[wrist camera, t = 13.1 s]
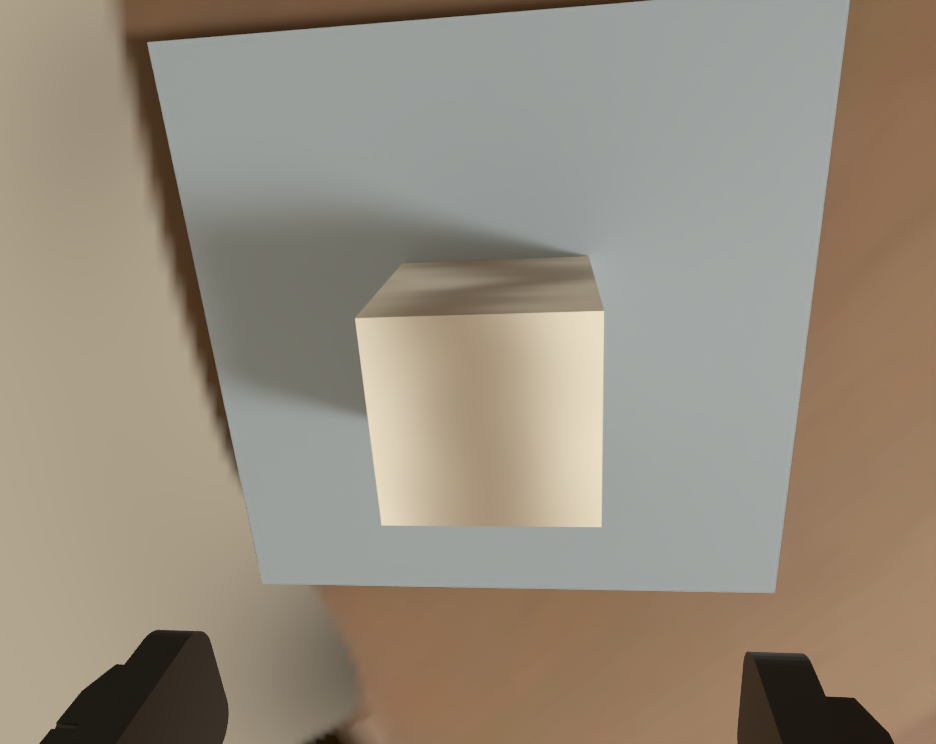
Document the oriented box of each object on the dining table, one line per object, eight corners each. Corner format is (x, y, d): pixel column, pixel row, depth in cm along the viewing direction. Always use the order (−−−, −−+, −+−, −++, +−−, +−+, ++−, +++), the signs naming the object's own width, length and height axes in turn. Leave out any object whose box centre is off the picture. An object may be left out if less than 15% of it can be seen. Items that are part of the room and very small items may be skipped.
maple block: (588, 256, 21) (604, 310, 16) (588, 426, 24) (601, 527, 18) (402, 263, 22) (354, 318, 17) (418, 428, 24) (381, 525, 19)
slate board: (837, -11, 19) (851, -17, 18) (766, 575, 26) (774, 593, 25) (164, 44, 21) (147, 42, 20) (271, 568, 29) (262, 583, 28)
